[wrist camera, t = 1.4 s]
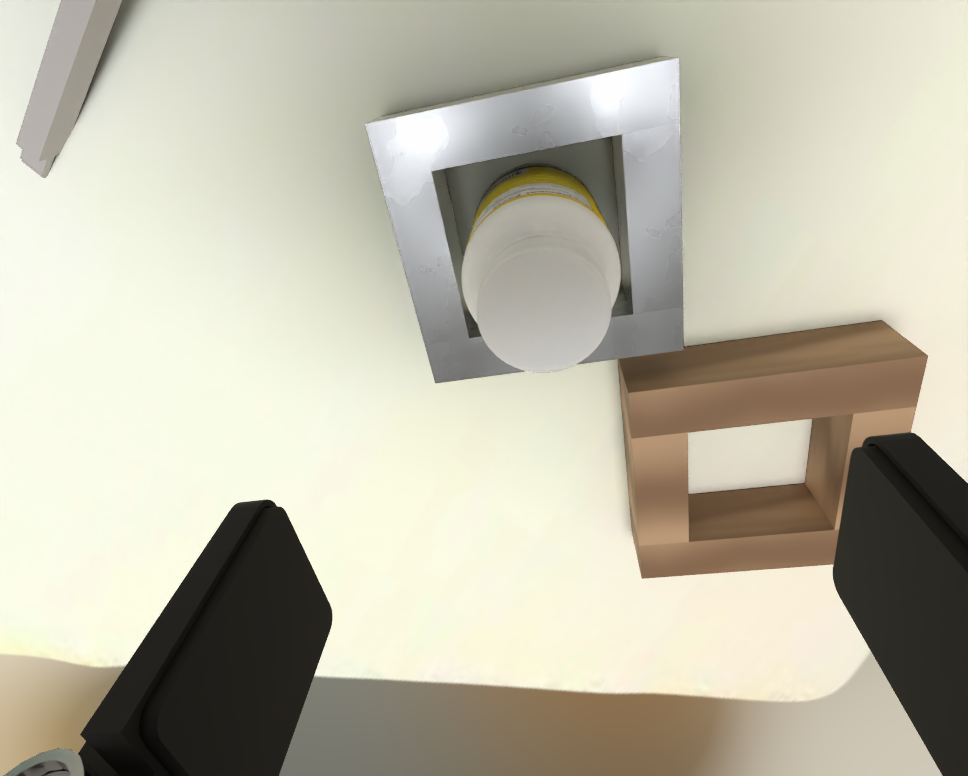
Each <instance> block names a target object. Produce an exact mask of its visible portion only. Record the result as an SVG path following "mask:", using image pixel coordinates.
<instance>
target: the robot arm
mask: <svg viewBox="0 0 968 776" xmlns="http://www.w3.org/2000/svg"><path fill="white" fill-rule="evenodd" d="M833 580H834V584H835V587H836V590H837V592H838V594H839V596H840V598H841V600H842V601H843V603H844V605H845V607H846V608H847V610H848V612H849V614H850V615H851V617H852V619H853V621H854V622H855V624H856V626H857V628H858V629H859V631H860V633H861V634H862V636H863V638H864V640H865V641H866V643H867V645H868V647H869V648H870V650H871V652H872V654H873V655H874V657H875V659H876V660H877V662H878V664H879V666H880V667H881V669H882V671H883V673H884V674H885V676H886V678H887V680H888V681H889V683H890V685H891V687H892V688H893V690H894V692H895V694H896V695H897V697H898V699H899V701H900V702H901V704H902V706H903V707H904V709H905V711H906V713H907V714H908V716H909V718H910V719H911V721H912V723H913V725H914V727H915V728H916V730H917V732H918V734H919V735H920V737H921V739H922V740H923V742H924V744H925V745H926V747H927V749H928V751H929V753H930V754H931V756H932V758H933V760H934V761H935V763H936V765H937V767H938V768H939V770H940V772H941V773H942V775H943V776H968V483H967V482H966V481H965V480H964V479H962V478H961V477H960V476H959V475H958V474H957V473H956V472H955V471H954V470H953V469H952V468H951V467H950V466H949V465H948V464H947V463H946V462H945V461H944V460H943V459H942V458H941V457H940V456H939V455H938V454H937V453H936V452H935V451H934V450H933V449H932V448H930V447H929V446H928V445H927V444H926V443H925V442H924V441H923V440H922V439H921V438H920V437H919V436H917V435H916V434H915V433H910V432H907V433H897V434H888V435H878V436H870V437H867V438H866V439H865V440H864V442H863V444H862V447H857V448H854V449H853V451H852V453H851V457H850V463H849V470H848V476H847V483H846V489H845V495H844V502H843V508H842V515H841V521H840V527H839V534H838V540H837V547H836V553H835V559H834V566H833ZM331 625H332V609H331V606H330V604H329V602H328V600H327V597H326V595H325V593H324V591H323V589H322V587H321V585H320V583H319V581H318V578H317V576H316V574H315V572H314V570H313V568H312V566H311V564H310V562H309V560H308V557H307V555H306V553H305V551H304V549H303V547H302V545H301V543H300V541H299V539H298V536H297V534H296V532H295V530H294V528H293V526H292V524H291V522H290V520H289V518H288V515H287V513H286V512H285V510H284V509H283V508H282V507H277V506H276V504H275V503H274V502H273V501H271V500H259V501H250V502H240V503H237V504H235V505H234V506H233V507H232V508H231V510H230V511H229V513H228V514H227V516H226V517H225V519H224V520H223V522H222V523H221V525H220V526H219V528H218V529H217V531H216V532H215V534H214V535H213V537H212V538H211V540H210V541H209V543H208V544H207V546H206V547H205V549H204V550H203V552H202V553H201V555H200V556H199V558H198V559H197V561H196V562H195V564H194V565H193V567H192V568H191V570H190V571H189V573H188V574H187V576H186V577H185V579H184V580H183V582H182V583H181V585H180V586H179V588H178V589H177V591H176V592H175V594H174V595H173V597H172V598H171V600H170V601H169V603H168V604H167V606H166V607H165V608H164V610H163V611H162V613H161V614H160V616H159V617H158V619H157V620H156V622H155V623H154V625H153V626H152V628H151V629H150V631H149V632H148V634H147V635H146V637H145V638H144V640H143V641H142V643H141V644H140V646H139V647H138V649H137V650H136V652H135V653H134V655H133V656H132V658H131V659H130V661H129V662H128V664H127V665H126V667H125V669H124V670H123V671H122V673H121V674H120V676H119V677H118V679H117V680H116V682H115V683H114V685H113V686H112V688H111V689H110V691H109V692H108V694H107V695H106V697H105V698H104V700H103V701H102V703H101V704H100V706H99V707H98V709H97V710H96V712H95V713H94V715H93V716H92V718H91V719H90V721H89V722H88V724H87V725H86V727H85V728H84V730H83V731H82V733H81V734H80V735H81V736H82V737H83V738H84V739H85V740H86V743H85V744H84V746H83V747H82V749H81V750H80V752H79V753H78V754H77V753H75V752H74V751H73V750H71V749H60V748H57V749H53V750H50V751H46V752H42V753H40V754H38V755H36V756H34V757H32V758H30V759H28V760H26V761H24V762H22V763H21V764H19V765H18V766H16V767H15V768H14V769H12V770H11V771H9V772H8V773H7V774H5V775H4V776H279V773H280V770H281V767H282V765H283V762H284V759H285V756H286V753H287V751H288V748H289V745H290V742H291V739H292V736H293V734H294V731H295V728H296V725H297V722H298V719H299V717H300V714H301V711H302V708H303V705H304V702H305V700H306V697H307V694H308V691H309V688H310V685H311V682H312V679H313V677H314V674H315V671H316V668H317V666H318V663H319V660H320V657H321V654H322V651H323V649H324V646H325V643H326V640H327V637H328V635H329V632H330V629H331Z"/></svg>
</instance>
